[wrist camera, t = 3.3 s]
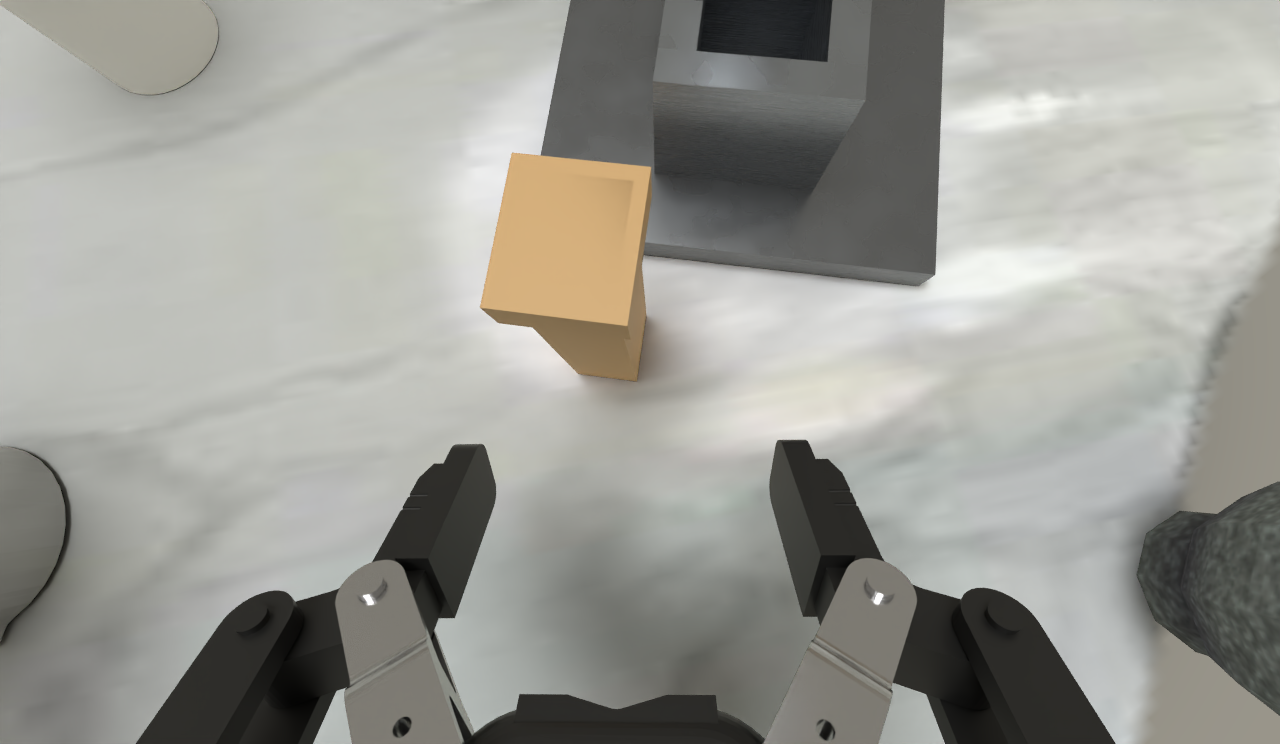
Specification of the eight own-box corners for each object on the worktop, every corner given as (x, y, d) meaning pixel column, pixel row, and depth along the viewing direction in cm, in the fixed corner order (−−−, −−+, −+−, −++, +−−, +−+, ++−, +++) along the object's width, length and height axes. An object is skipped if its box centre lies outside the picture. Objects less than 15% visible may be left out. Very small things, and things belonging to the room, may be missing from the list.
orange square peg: (643, 391, 24) (627, 325, 12) (569, 381, 24) (480, 307, 12) (655, 307, 24) (650, 166, 12) (583, 298, 25) (512, 152, 13)
